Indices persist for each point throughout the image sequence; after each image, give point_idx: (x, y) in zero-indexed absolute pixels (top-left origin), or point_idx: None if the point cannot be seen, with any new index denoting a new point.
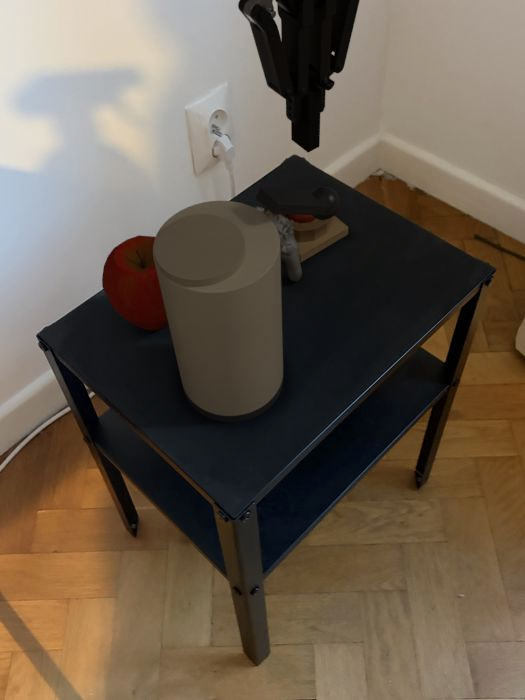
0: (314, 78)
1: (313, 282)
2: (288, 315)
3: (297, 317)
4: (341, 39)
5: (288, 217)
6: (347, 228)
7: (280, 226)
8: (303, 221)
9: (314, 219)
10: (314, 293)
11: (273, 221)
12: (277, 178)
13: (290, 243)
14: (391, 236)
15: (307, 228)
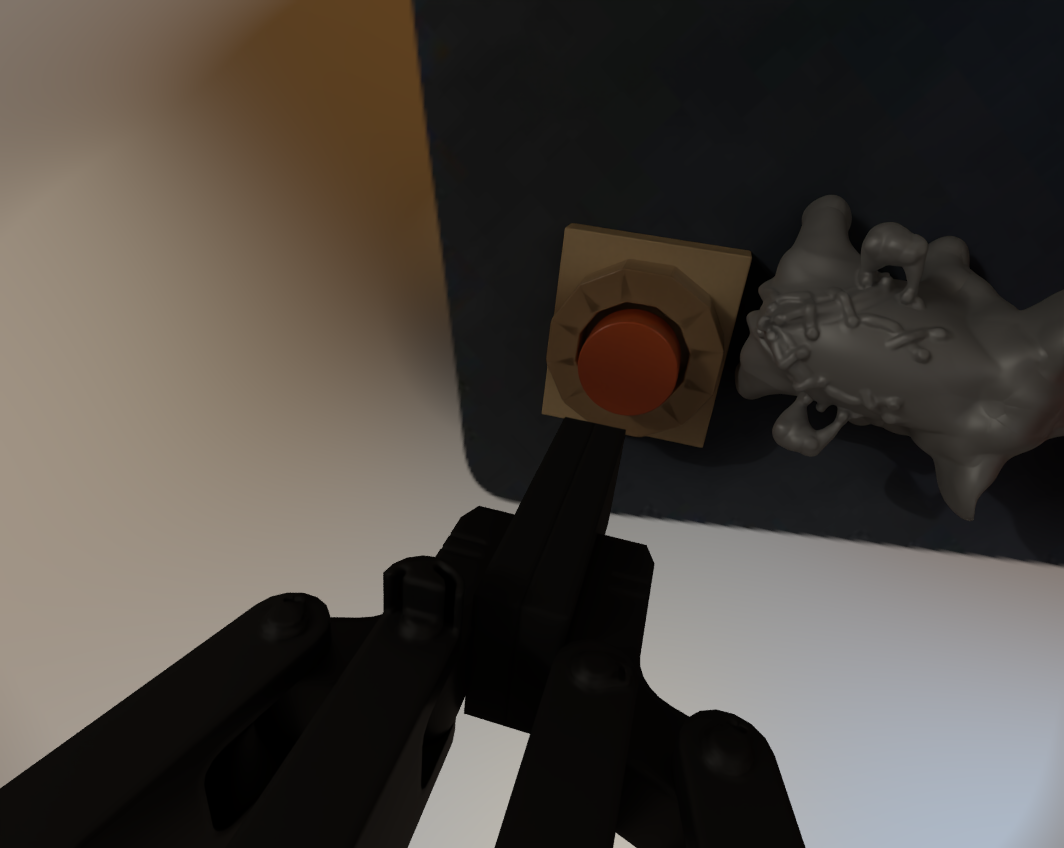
0: (453, 676)
1: (793, 165)
2: (968, 123)
3: (959, 93)
4: (126, 800)
5: None
6: (569, 227)
7: (830, 327)
8: (666, 325)
9: None
10: (831, 128)
11: (837, 357)
12: None
13: (821, 271)
14: (489, 120)
15: (684, 296)
